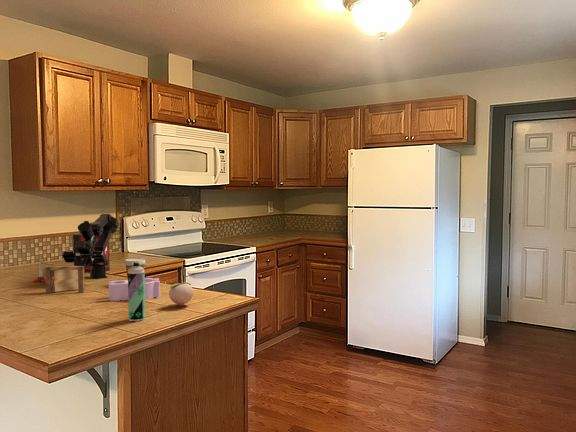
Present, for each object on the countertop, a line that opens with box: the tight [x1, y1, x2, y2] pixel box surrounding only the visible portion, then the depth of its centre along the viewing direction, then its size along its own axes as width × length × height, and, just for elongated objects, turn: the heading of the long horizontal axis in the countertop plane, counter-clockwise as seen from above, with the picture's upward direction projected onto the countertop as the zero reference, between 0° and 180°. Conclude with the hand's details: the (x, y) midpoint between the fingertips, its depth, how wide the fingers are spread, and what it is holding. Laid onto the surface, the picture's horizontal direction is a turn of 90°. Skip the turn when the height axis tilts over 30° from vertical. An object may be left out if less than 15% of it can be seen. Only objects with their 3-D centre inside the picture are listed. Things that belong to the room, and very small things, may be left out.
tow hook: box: [33, 255, 54, 283], centre depth 230 cm, size 8×13×9 cm
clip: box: [108, 277, 161, 302], centre depth 194 cm, size 20×12×7 cm, turn 109°
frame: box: [44, 265, 86, 294], centre depth 203 cm, size 16×2×11 cm, turn 93°
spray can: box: [127, 262, 146, 322], centre depth 161 cm, size 6×6×20 cm
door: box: [52, 270, 78, 292], centre depth 206 cm, size 11×2×10 cm, turn 128°
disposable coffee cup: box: [124, 257, 147, 280], centre depth 219 cm, size 10×10×12 cm
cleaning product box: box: [72, 233, 110, 273], centre depth 257 cm, size 16×9×20 cm, turn 69°
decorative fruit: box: [168, 280, 194, 306], centre depth 180 cm, size 9×8×10 cm
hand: (79, 271), depth 214 cm, fingers closed
